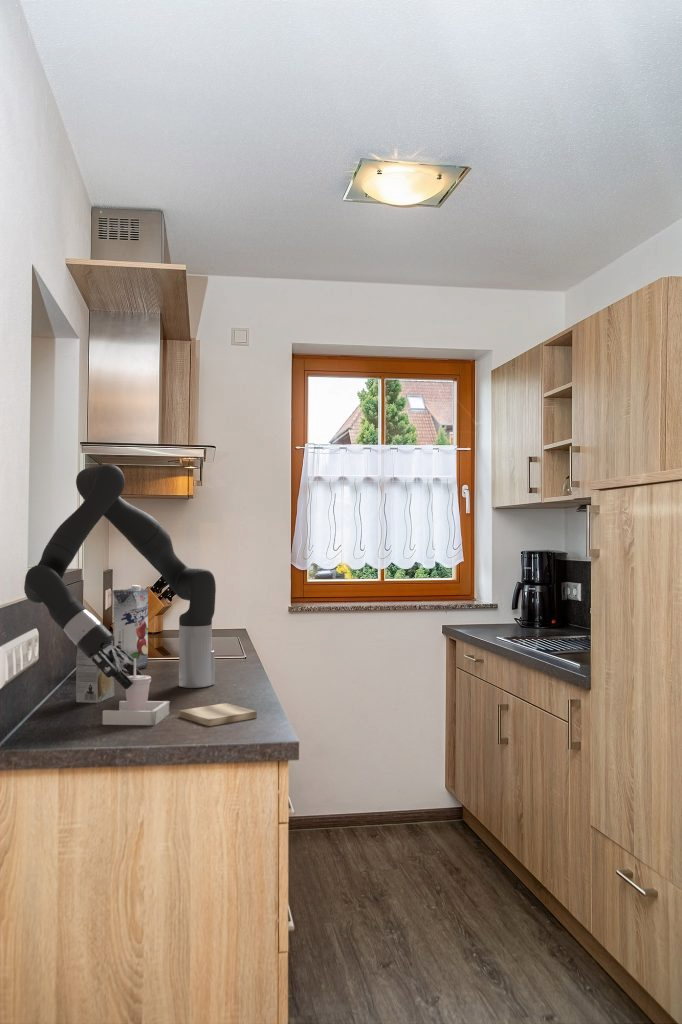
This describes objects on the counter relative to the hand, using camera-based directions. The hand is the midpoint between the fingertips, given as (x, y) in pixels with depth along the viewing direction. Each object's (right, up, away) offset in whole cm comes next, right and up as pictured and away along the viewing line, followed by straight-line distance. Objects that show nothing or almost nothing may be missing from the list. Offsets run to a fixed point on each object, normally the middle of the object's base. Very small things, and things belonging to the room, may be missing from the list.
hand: (136, 683), depth 191 cm
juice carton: (-20, -11, +73) cm, 77 cm away
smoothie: (0, -8, 0) cm, 8 cm away
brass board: (+19, -8, +1) cm, 21 cm away
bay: (0, -8, 0) cm, 8 cm away
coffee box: (-16, -9, +24) cm, 30 cm away
